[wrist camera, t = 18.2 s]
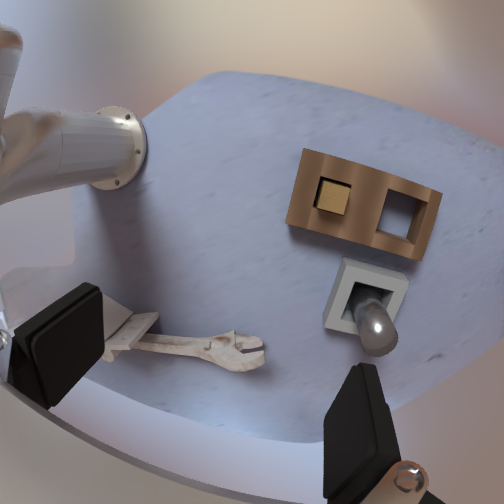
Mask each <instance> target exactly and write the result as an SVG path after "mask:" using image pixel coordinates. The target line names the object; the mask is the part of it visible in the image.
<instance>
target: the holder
mask: <svg viewBox="0 0 504 504" xmlns="http://www.w3.org/2000/svg"><path fill="white" fill-rule="evenodd" d="M355 281H356V282H360V283H364V284H368V285H372V286H376V287H379V288H383V289H384V291H383V293H382V296H381V300H382V302H383V304H384V306H385V308H386V310H387V312H388V314H389V316H390V319H391V321H392V323H393V320H394V318H395V316H396V314H397V312H398V309H399V307H400V305H401V302H402V300H403V298H404V295H405V293H406V290H407V288H408V285H409V283H410V282H409V281H408V279H407V278H406V277H405V276H404V274H403V273H402V272H398V271H394V270H391V269H387V268H384V267H380V266H377V265H373V264H369V263H366V262H362V261H358V260H355V259H351V258H347V257H344V256H343V258H342V261H341V264H340V267H339V270H338V273H337V276H336V279H335V282H334V285H333V287H332V290H331V293H330V296H329V299H328V302H327V304H326V307H325V310H324V313H323V322H324V327H325V328H329V329H333V330H338V331H342V332H347V333H351V334H356V335H359V332H358V328H357V325H356V321H355V318H354V314H353V311H351V310H347V309H345V306H346V303H347V301H348V298H349V296H350V293H351V290H352V287H353V285H354V282H355Z"/></svg>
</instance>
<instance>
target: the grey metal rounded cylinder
mask: <svg viewBox="0 0 504 504" xmlns="http://www.w3.org/2000/svg"><path fill="white" fill-rule="evenodd" d="M349 300H350V304H351V307H352V311H353V314H354V318H355V321H356V325H357V328H358V332H359V336H360V339H361V343H362V347H363V350H364V351H365V353H367V354H368V355H370V356H374V357H380V356H384V355H386V354H388V353H389V352H391V351H392V350H393V349H394V348H395V346H396V345H397V342H398V333H397V331H396V329H395V327H394V325H393V323H392V321H391V319H390V316H389V314H388V312H387V310H386V308H385V306H384V304H383V302H382V300H381V298H380V296H379V294H378V292H377V290H376V289H375V287H374V286H372V285H368V284H364V283H360V282H357V283H355V284H354V285H353V287H352V290H351V293H350V296H349Z"/></svg>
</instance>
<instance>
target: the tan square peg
mask: <svg viewBox="0 0 504 504" xmlns="http://www.w3.org/2000/svg"><path fill="white" fill-rule="evenodd" d="M349 193H350V188H348V187H347V186H345V185H342V184H339V183H335V182H332V181H328V180H325V179H321V181H320V185H319V189H318V193H317V197H316V201H315V202H316V205H317V208H320V209H324V210H328V211H331V212H335V213H338V214H342V215H343V214H344V211H345V207H346V204H347V200H348V196H349Z"/></svg>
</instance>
